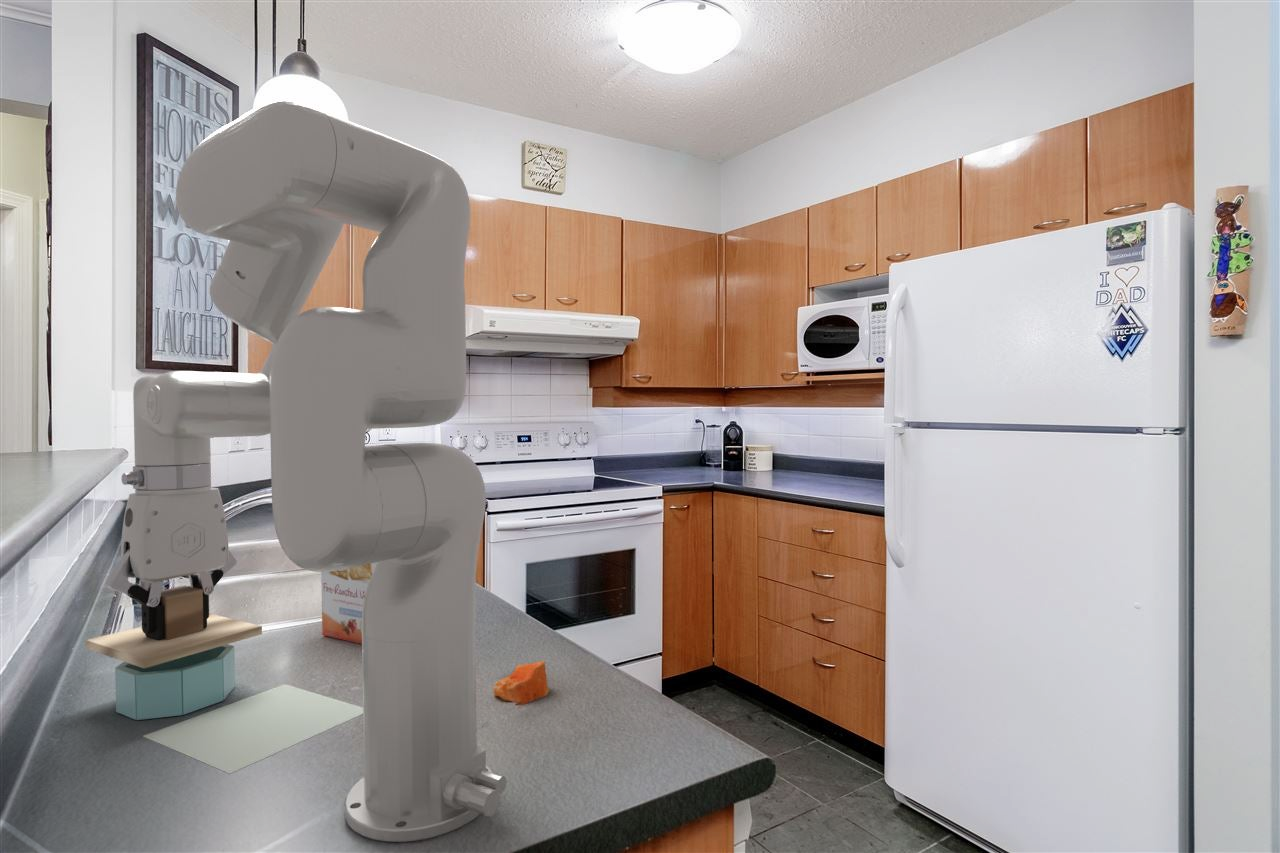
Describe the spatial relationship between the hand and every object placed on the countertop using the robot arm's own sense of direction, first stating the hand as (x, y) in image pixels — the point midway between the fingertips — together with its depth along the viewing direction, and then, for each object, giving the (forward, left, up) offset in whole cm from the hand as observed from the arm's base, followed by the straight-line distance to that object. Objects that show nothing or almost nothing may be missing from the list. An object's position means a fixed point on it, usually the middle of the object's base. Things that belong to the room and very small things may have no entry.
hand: (176, 630), depth 83 cm
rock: (-35, -22, -10) cm, 42 cm away
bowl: (0, 0, -9) cm, 9 cm away
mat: (-15, -1, -9) cm, 17 cm away
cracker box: (0, -27, -9) cm, 28 cm away
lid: (0, 0, -1) cm, 1 cm away
